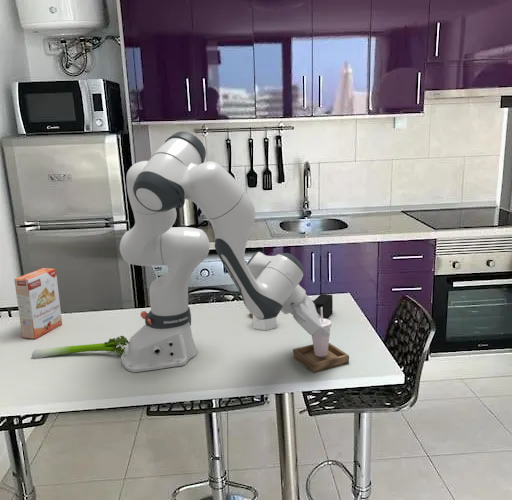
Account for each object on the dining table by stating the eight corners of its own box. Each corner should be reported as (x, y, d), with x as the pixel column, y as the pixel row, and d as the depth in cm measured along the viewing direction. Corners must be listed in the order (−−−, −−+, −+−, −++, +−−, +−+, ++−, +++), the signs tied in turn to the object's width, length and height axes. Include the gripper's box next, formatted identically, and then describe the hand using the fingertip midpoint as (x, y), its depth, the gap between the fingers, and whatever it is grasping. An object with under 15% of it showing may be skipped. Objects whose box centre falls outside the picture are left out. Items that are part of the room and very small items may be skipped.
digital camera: (318, 311, 193) (317, 293, 191) (332, 313, 191) (332, 294, 189) (308, 321, 184) (308, 302, 182) (323, 323, 182) (323, 303, 180)
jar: (247, 328, 180) (245, 294, 177) (259, 319, 187) (257, 287, 184) (270, 332, 176) (269, 297, 173) (282, 323, 182) (281, 290, 180)
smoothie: (336, 356, 151) (334, 309, 148) (314, 360, 149) (313, 313, 146) (327, 347, 157) (325, 302, 154) (306, 351, 155) (304, 305, 152)
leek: (40, 357, 168) (134, 347, 167) (32, 370, 161) (129, 359, 160) (35, 341, 166) (130, 330, 165) (26, 353, 159) (125, 342, 158)
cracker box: (36, 340, 177) (27, 279, 172) (21, 338, 179) (12, 278, 174) (63, 324, 189) (56, 267, 185) (50, 323, 191) (42, 267, 186)
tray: (313, 372, 146) (313, 364, 146) (293, 357, 157) (292, 349, 156) (348, 363, 151) (348, 355, 150) (326, 348, 161) (326, 341, 161)
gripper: (301, 302, 139) (338, 336, 141) (296, 280, 158) (329, 310, 161) (284, 319, 140) (322, 353, 142) (281, 295, 160) (314, 324, 162)
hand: (325, 330), depth 151 cm, fingers closed on smoothie, 6 cm apart
